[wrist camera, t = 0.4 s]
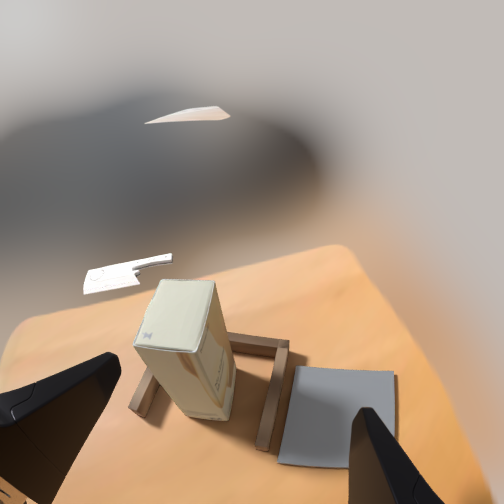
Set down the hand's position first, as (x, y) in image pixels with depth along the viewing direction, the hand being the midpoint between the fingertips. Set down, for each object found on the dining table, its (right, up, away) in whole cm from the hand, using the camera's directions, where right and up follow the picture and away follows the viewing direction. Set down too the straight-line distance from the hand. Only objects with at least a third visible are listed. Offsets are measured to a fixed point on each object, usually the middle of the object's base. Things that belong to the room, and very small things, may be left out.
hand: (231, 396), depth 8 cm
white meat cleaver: (-18, +1, +31) cm, 36 cm away
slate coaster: (+9, -10, +12) cm, 18 cm away
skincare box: (-3, -9, +16) cm, 18 cm away
